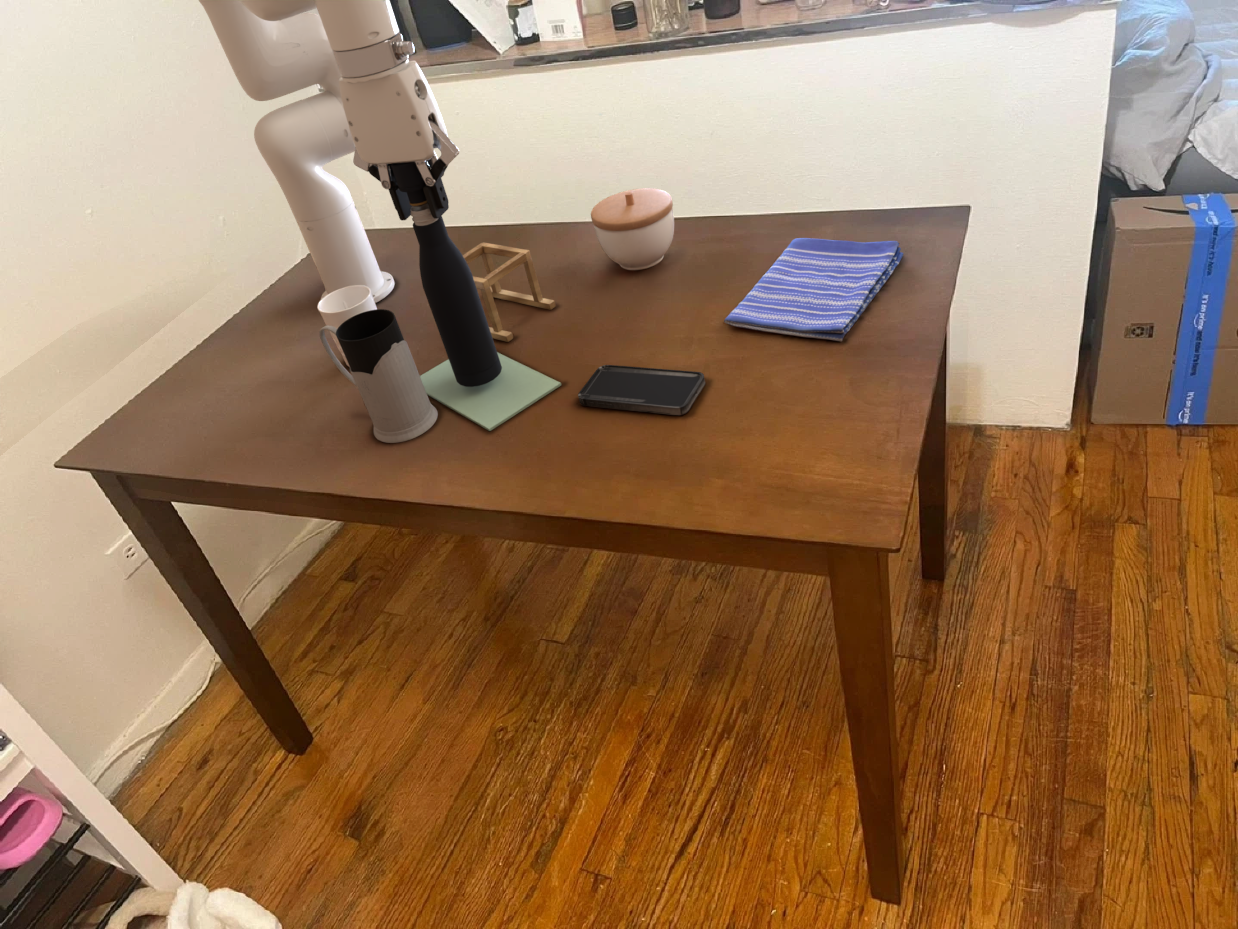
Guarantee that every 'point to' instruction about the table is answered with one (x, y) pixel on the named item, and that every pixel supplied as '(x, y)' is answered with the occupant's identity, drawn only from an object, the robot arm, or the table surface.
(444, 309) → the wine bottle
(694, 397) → the phone
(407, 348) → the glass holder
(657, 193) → the lidded bowl
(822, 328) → the dish towel
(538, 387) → the mat
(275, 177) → the robot arm
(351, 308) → the white cup
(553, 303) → the bottle stand
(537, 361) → the table surface
